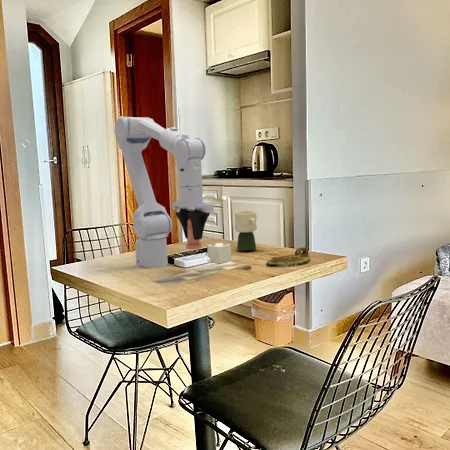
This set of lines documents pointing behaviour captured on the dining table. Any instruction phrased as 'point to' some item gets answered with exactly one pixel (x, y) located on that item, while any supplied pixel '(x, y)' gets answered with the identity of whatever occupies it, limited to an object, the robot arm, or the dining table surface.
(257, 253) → the dining table surface
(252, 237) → the character mug
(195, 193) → the robot arm
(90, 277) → the dining table surface
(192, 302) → the dining table surface
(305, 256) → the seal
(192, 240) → the dildo
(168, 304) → the dining table surface
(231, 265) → the board
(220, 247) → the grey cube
